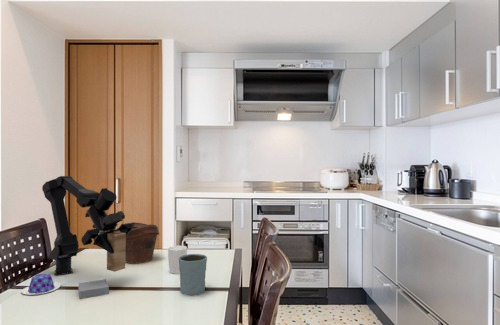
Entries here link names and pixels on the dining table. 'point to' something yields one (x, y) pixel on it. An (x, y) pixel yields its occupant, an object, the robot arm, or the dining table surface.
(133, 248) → the brown basket
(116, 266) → the column
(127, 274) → the dining table surface
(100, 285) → the base brick
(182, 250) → the white cup
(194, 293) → the green cup
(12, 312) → the dining table surface
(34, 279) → the purple patterned hat
